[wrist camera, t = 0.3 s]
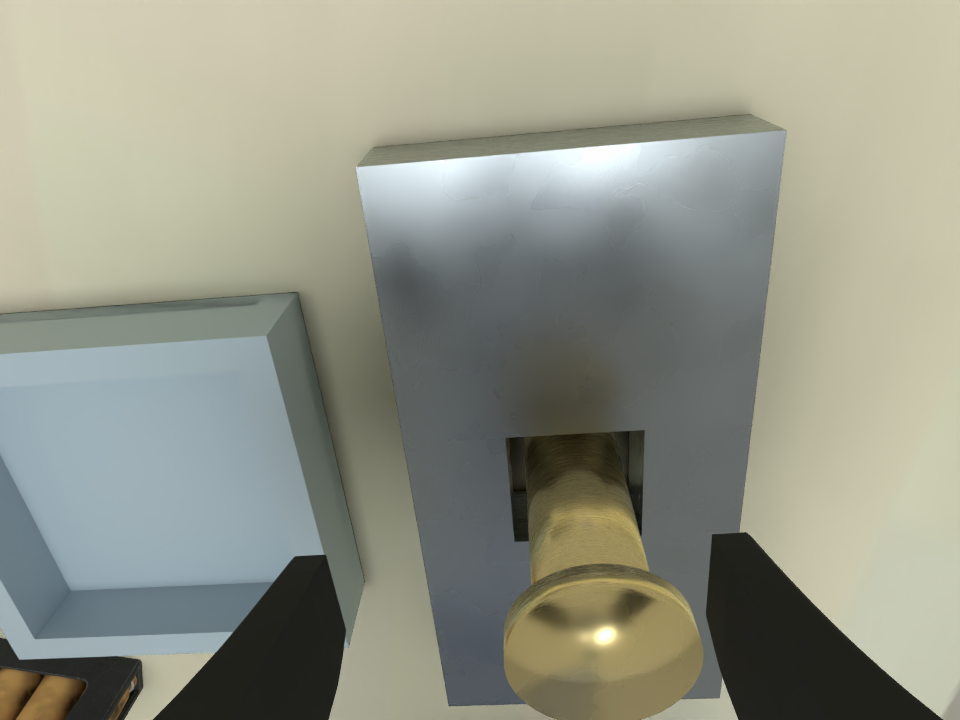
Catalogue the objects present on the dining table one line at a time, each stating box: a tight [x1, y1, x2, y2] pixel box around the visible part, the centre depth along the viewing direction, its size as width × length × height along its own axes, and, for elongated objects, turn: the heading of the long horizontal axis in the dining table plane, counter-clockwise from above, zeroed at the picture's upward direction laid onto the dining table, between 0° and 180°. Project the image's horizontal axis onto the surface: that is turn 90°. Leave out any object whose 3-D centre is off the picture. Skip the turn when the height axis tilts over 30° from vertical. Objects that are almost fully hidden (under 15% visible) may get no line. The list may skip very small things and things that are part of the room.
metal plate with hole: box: [356, 114, 786, 706], centre depth 21 cm, size 20×10×2 cm, turn 5°
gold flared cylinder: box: [504, 432, 703, 720], centre depth 19 cm, size 4×4×9 cm
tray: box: [0, 292, 365, 660], centre depth 22 cm, size 12×12×3 cm
